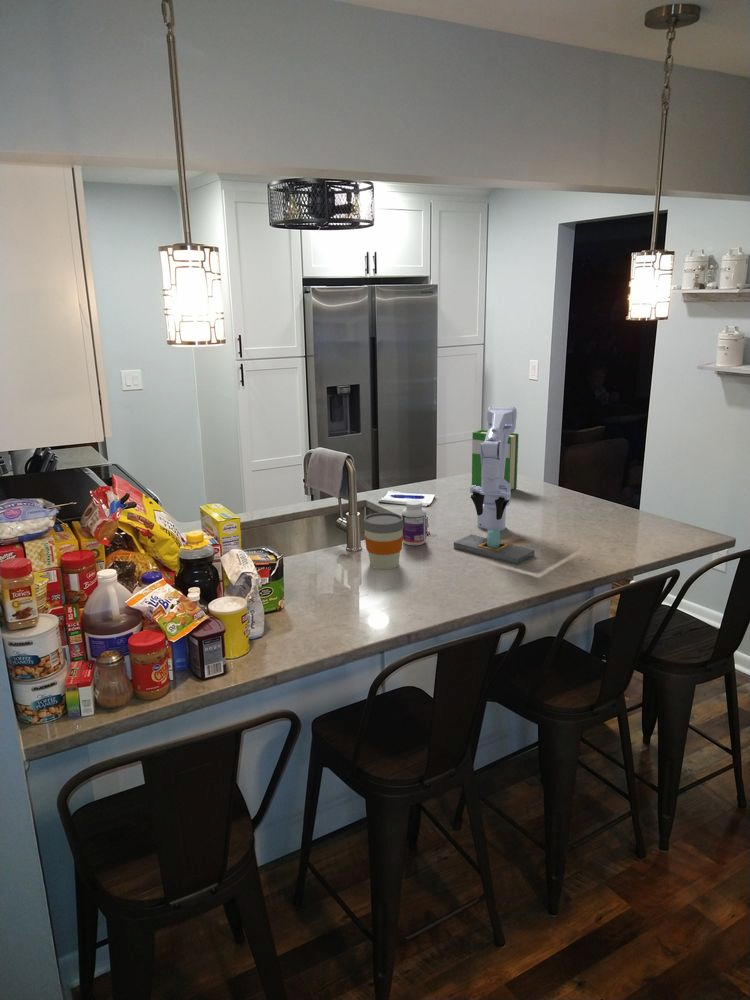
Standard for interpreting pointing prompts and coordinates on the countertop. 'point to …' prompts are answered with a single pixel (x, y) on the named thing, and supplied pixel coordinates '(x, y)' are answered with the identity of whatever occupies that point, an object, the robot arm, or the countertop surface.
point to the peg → (493, 538)
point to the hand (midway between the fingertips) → (489, 516)
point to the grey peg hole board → (494, 550)
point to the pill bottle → (414, 523)
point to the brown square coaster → (515, 540)
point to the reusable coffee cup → (383, 539)
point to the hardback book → (510, 462)
